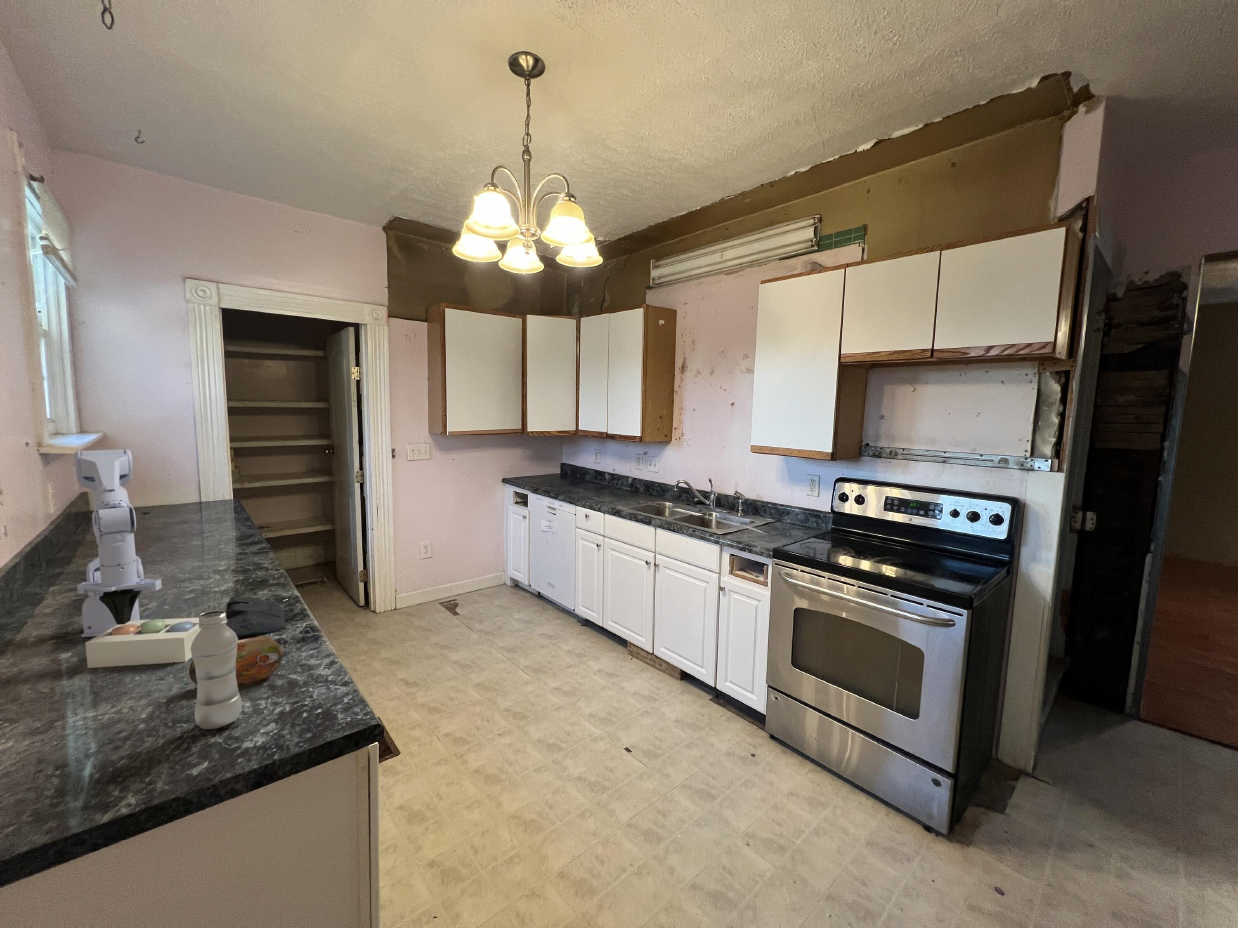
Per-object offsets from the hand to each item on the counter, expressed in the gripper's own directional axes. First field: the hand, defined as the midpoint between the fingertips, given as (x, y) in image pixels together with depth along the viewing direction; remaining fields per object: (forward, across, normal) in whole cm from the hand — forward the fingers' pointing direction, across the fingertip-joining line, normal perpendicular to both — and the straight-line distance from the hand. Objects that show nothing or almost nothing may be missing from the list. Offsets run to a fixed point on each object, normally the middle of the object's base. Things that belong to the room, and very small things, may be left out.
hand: (123, 622), depth 114 cm
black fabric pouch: (+8, +17, +15) cm, 24 cm away
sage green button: (+3, +6, 0) cm, 6 cm away
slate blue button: (+4, +11, 0) cm, 12 cm away
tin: (+8, +30, -16) cm, 34 cm away
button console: (+7, +6, 0) cm, 9 cm away
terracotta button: (+4, 0, 0) cm, 4 cm away
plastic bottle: (+7, +34, -31) cm, 46 cm away
